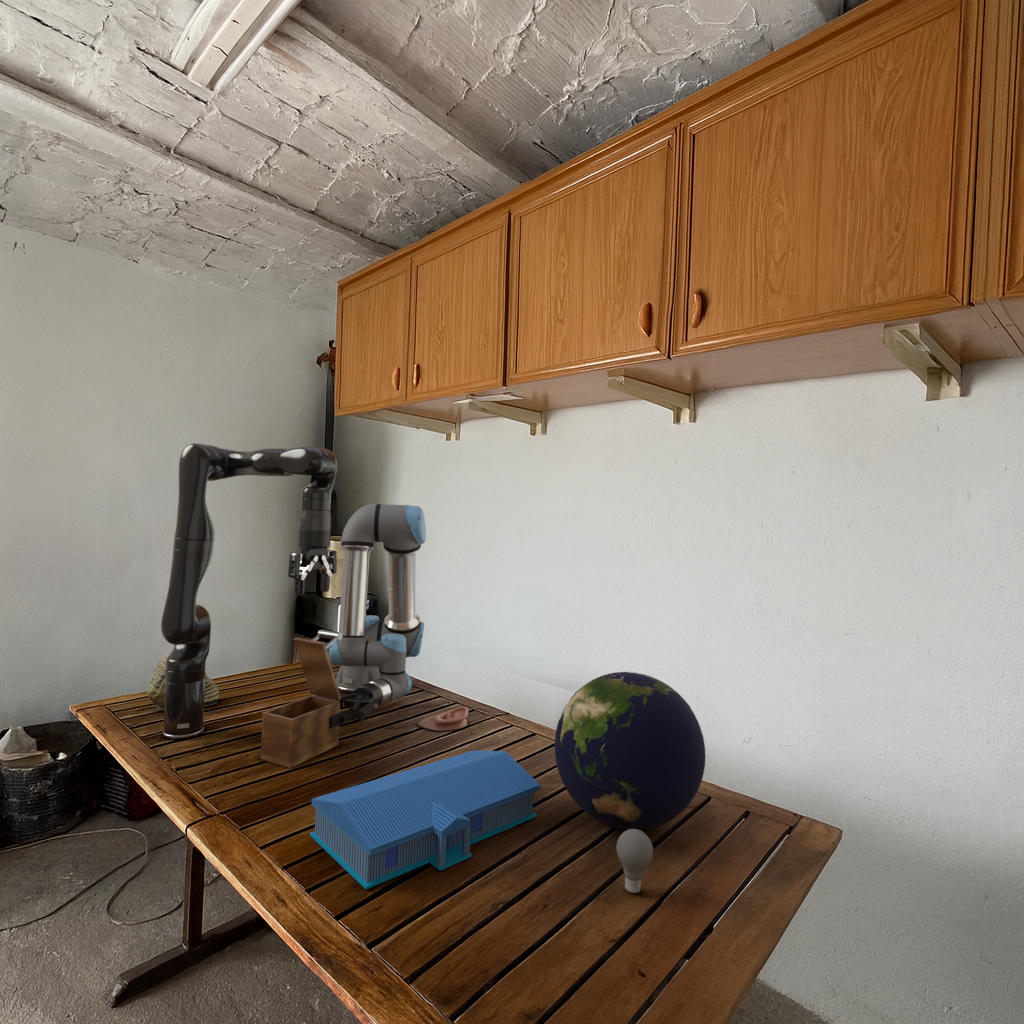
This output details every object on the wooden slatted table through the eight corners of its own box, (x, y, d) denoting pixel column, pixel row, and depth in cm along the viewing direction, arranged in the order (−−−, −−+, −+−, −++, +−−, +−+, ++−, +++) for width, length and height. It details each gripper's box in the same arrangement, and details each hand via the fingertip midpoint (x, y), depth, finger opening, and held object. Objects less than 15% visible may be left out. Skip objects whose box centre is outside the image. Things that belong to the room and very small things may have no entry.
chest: (290, 768, 147) (292, 720, 147) (260, 759, 151) (262, 712, 151) (338, 745, 162) (340, 701, 161) (310, 737, 166) (311, 695, 166)
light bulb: (610, 879, 108) (613, 822, 108) (644, 879, 109) (647, 822, 109) (619, 902, 102) (622, 840, 102) (655, 901, 103) (658, 840, 103)
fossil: (144, 707, 182) (145, 655, 182) (212, 696, 194) (213, 647, 194) (151, 716, 175) (153, 662, 175) (221, 703, 188) (223, 653, 188)
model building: (376, 899, 100) (378, 836, 100) (308, 834, 119) (310, 781, 118) (548, 822, 127) (550, 773, 127) (472, 779, 145) (474, 735, 145)
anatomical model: (414, 713, 175) (428, 701, 186) (414, 728, 175) (427, 714, 186) (460, 719, 172) (471, 706, 184) (460, 733, 172) (471, 719, 184)
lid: (322, 644, 154) (344, 625, 161) (292, 639, 159) (315, 620, 166) (339, 700, 161) (359, 680, 168) (310, 694, 165) (331, 674, 172)
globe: (530, 838, 120) (537, 682, 120) (575, 777, 148) (580, 650, 148) (692, 880, 109) (701, 707, 109) (708, 805, 137) (715, 668, 136)
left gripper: (305, 529, 149) (302, 598, 149) (346, 528, 162) (343, 591, 162) (281, 527, 152) (279, 595, 152) (323, 526, 165) (321, 588, 165)
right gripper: (402, 716, 176) (348, 742, 155) (340, 701, 185) (282, 724, 165) (404, 689, 175) (350, 712, 155) (341, 676, 185) (283, 696, 165)
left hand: (312, 593), depth 157 cm, fingers open, 8 cm apart
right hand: (315, 718), depth 160 cm, fingers closed on chest, 10 cm apart
